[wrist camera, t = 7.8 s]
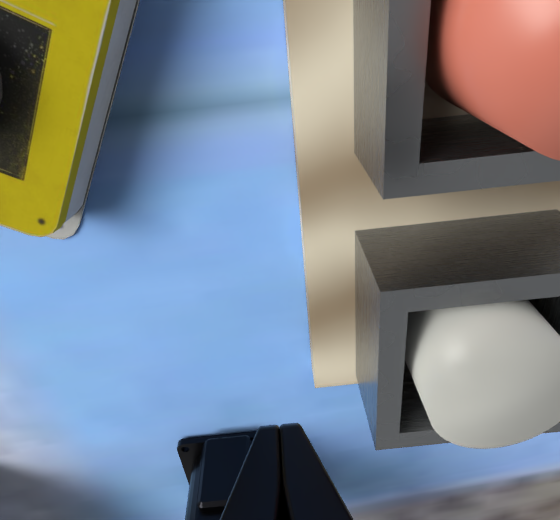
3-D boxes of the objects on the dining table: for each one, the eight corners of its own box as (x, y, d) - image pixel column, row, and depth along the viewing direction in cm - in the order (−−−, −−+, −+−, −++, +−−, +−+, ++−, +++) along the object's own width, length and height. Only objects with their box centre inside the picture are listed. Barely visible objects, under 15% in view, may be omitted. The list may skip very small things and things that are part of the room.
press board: (541, 343, 25) (557, 363, 23) (312, 367, 25) (314, 387, 24) (699, -202, 13) (746, -224, 12) (270, -153, 13) (272, -168, 12)
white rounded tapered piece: (498, 345, 22) (564, 440, 17) (387, 356, 22) (422, 455, 17) (520, 248, 19) (607, 332, 14) (391, 262, 19) (435, 349, 14)
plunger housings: (518, 357, 23) (571, 430, 19) (355, 374, 23) (375, 450, 19) (656, -179, 12) (837, -257, 8) (352, -144, 12) (395, -205, 9)
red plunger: (571, 100, 15) (717, 149, 10) (406, 118, 15) (476, 175, 10) (623, -115, 12) (863, -185, 7) (417, -91, 12) (522, -146, 7)
